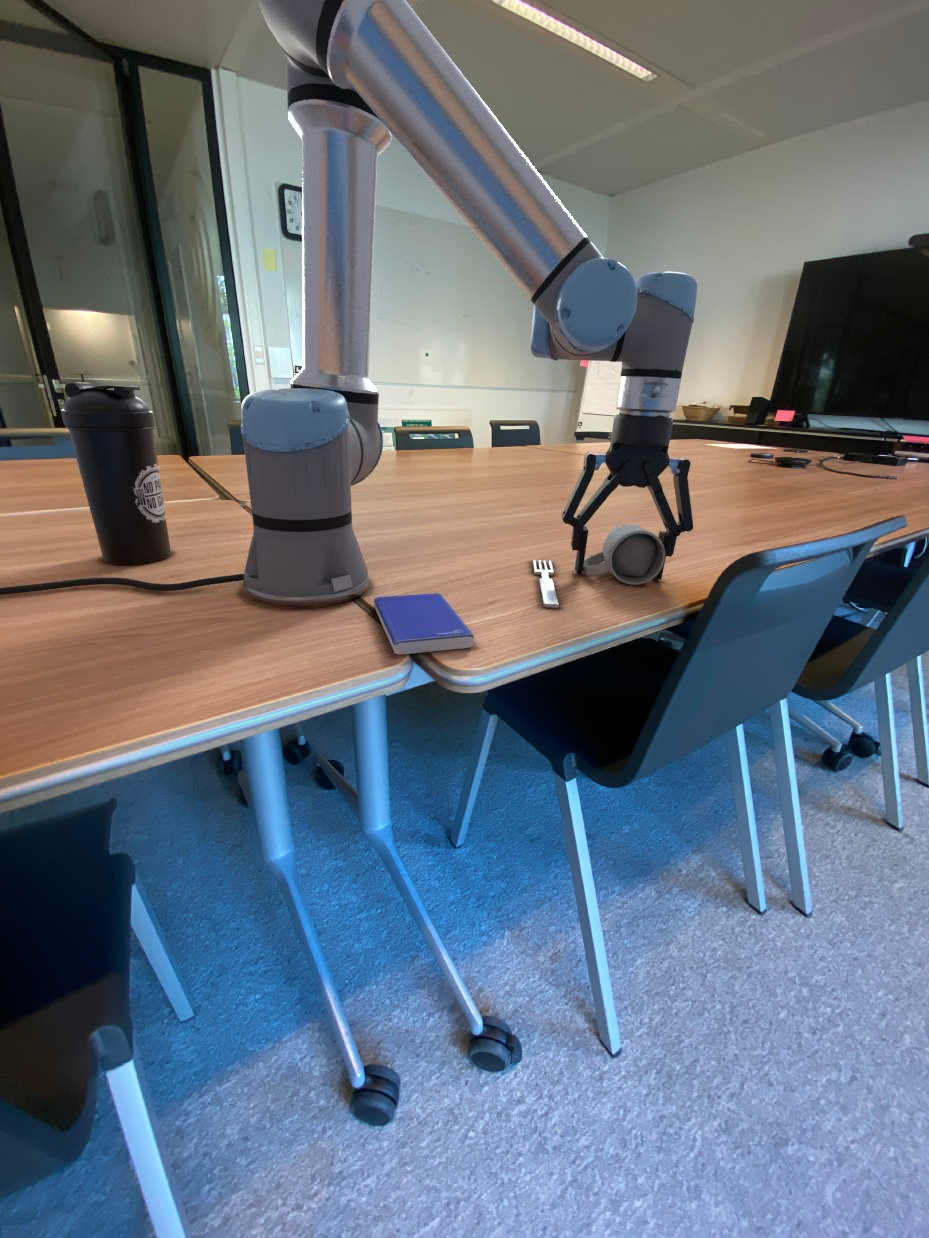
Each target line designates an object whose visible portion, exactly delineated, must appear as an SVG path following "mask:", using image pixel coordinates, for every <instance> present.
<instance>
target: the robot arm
mask: <svg viewBox="0 0 929 1238" xmlns="http://www.w3.org/2000/svg"><path fill="white" fill-rule="evenodd" d="M257 3H258V7H259V10H260V12H261V14H262V16H263V19H264V21H265V23H266V25H267V27H268V29H269V30H270V32H271V33H272V35H273V37H274V39H275V40H276V42H277V43H278V45H279V46H280V48H281V49H282V51H283V53H284V54H285V56H286V81H287V83H286V85H287V86H286V87H287V90H286V91H287V97H286V98H287V118H288V121H289V123H290V124H291V125H292V127H293V128H294V130H295V131H296V133H297V134H298V135H299V137H300V139H301V227H302V228H301V238H302V239H301V240H302V241H301V244H302V245H301V246H302V247H301V248H302V250H301V251H302V253H301V255H302V256H301V257H302V261H301V265H302V266H301V267H302V268H301V269H302V273H301V275H302V277H301V281H302V283H301V284H302V286H301V287H302V289H301V290H302V293H301V294H302V299H301V300H302V304H301V305H302V368H301V370H300V371H299V372H298V373H297V374H296V375H295V376H294V377H293V378H292V379H291V380H290V387H289V388H288V387H287V388H279V389H272V388H271V389H263V390H258V391H255V392H252V393H250V394H248V395H246V396H245V397H244V399H242V402H241V405H240V411H241V412H240V413H241V414H240V415H241V424H240V434H241V437H242V441H243V442H242V443H243V451H244V459H245V466H246V475H247V483H248V491H249V492H248V493H249V500H250V508H251V516H252V524H253V526H252V527H253V531H252V537H251V541H250V545H249V550H248V554H247V558H246V562H245V567H244V570H243V573H237V574H229V575H221V576H213V577H206V578H201V579H195V580H190V581H184V582H177V583H156V582H155V583H154V582H149V581H148V582H147V581H142V580H138V579H132V578H126V577H115V576H114V577H113V576H112V577H109V576H108V577H86V578H73V579H65V580H57V581H50V582H41V583H31V584H21V585H13V586H3V587H0V596H4V595H5V596H7V595H15V594H22V593H23V594H24V593H32V592H33V593H34V592H42V591H51V590H58V589H67V588H76V587H84V586H96V585H97V586H98V585H99V586H100V585H116V586H117V585H118V586H126V587H133V588H138V589H143V590H147V591H148V590H149V591H154V592H155V591H158V592H175V591H176V592H177V591H184V590H190V589H195V588H200V587H207V586H212V585H213V586H214V585H220V584H227V583H235V582H243V586H244V587H243V588H244V593H245V595H246V597H248V598H249V599H251V600H252V601H254V602H257V603H259V604H263V605H267V606H271V607H278V608H286V609H287V608H290V609H307V608H309V609H310V608H320V607H321V608H322V607H326V606H327V607H328V606H334V605H338V604H342V603H345V602H348V601H352V600H353V599H356V598H358V597H360V596H361V595H363V594H365V592H366V591H367V590H368V589H369V572H368V567H367V564H366V562H365V561H366V560H365V558H364V556H363V553H362V549H361V547H360V545H359V542H358V539H357V537H356V534H355V532H354V529H353V513H352V512H353V511H352V487H353V486H355V485H357V484H359V483H361V482H363V481H364V480H366V478H368V477H369V476H370V475H371V474H373V472H374V470H375V469H376V467H377V466H378V464H379V462H380V460H381V458H382V455H383V449H384V435H383V430H382V426H381V424H380V422H379V401H380V400H379V397H380V392H379V390H378V387H376V385H375V384H374V383H373V382H372V381H371V379H370V375H369V374H370V373H369V371H370V350H371V347H370V345H371V327H372V326H371V324H372V323H371V322H372V304H373V303H372V300H373V299H372V298H373V275H374V253H375V251H374V250H375V231H376V230H375V229H376V228H375V227H376V207H377V205H376V202H377V182H378V181H377V180H378V159H379V156H380V155H382V154H383V152H384V151H385V150H387V148H388V147H389V146H390V145H391V143H392V139H393V137H394V138H395V139H396V141H397V142H398V143H399V144H400V145H401V147H402V148H403V149H404V150H405V152H406V153H407V154H408V155H409V157H411V159H412V160H413V162H415V164H416V165H417V166H418V167H419V168H420V170H421V171H422V172H423V173H424V174H425V175H426V177H427V178H428V179H429V180H430V181H431V183H432V184H433V185H434V186H435V188H437V190H438V191H439V192H440V194H441V195H442V196H443V197H444V198H445V199H446V200H447V202H448V203H449V204H450V205H451V206H452V207H453V209H454V210H455V211H456V212H457V214H458V215H459V216H460V217H461V219H462V220H463V221H464V223H466V224H467V226H468V227H469V228H470V229H471V230H472V232H473V233H474V234H475V235H476V236H477V238H478V239H479V240H480V241H481V243H482V244H483V245H484V246H485V247H486V248H487V250H488V251H489V252H490V253H491V255H492V256H493V257H494V258H495V259H496V260H497V262H498V263H499V264H500V265H501V266H502V268H503V269H504V270H505V271H506V273H508V275H509V276H510V277H511V278H512V279H513V281H514V282H515V284H517V285H518V287H519V288H520V289H521V291H522V292H523V293H524V294H525V295H526V296H527V298H528V299H529V300H530V301H531V303H532V304H533V309H532V318H531V319H532V320H531V329H530V331H531V332H530V345H529V346H530V347H529V348H530V353H531V355H532V356H533V357H535V358H537V359H539V358H540V359H550V360H553V361H559V360H564V361H565V360H566V361H587V362H589V361H591V362H610V363H617V362H618V363H621V369H620V370H621V371H620V378H619V383H618V391H617V395H616V396H617V397H616V403H615V409H616V410H618V411H619V412H618V414H616V415H615V416H614V417H613V424H612V429H611V430H612V431H611V437H610V443H609V448H608V449H607V451H606V452H605V453H592V451H591V452H590V451H589V452H588V451H587V452H586V453H585V454H584V457H583V466H582V467H583V468H582V470H581V473H580V475H579V477H578V479H577V482H576V483H575V485H574V488H573V490H572V492H571V494H570V496H569V498H568V500H567V502H566V505H565V507H564V509H563V511H562V513H561V520H562V522H563V523H564V524H566V525H569V526H571V527H572V532H571V541H570V546H571V549H572V551H576V556H575V565H574V570H575V573H576V575H580V576H581V575H583V574H584V573H583V566H584V560H585V558H586V550H587V545H588V537H589V529H588V528H587V526H586V525H587V524H588V522H589V521H590V520H591V518H592V517H593V516H594V515H595V513H596V512H597V511H598V510H599V508H600V507H601V506H602V505H603V504H604V502H606V500H607V499H608V498H609V496H610V495H611V494H612V493H613V492H614V491H615V490H617V488H618V487H619V486H621V487H622V488H623V487H625V488H629V487H633V486H634V487H637V488H641V489H642V488H643V489H645V488H647V490H648V491H649V493H650V496H651V499H652V501H653V503H654V505H655V507H656V510H657V512H658V514H659V517H660V519H661V521H662V524H663V525H664V528H665V531H664V530H659V532H658V536H657V537H658V538H659V539H660V540H661V541H662V543H663V545H664V549H665V561H664V564H663V567H662V569H661V570H660V572H659V573H658V574H657V576H656V577H654V578H653V579H654V580H656V581H662V578H663V573H664V568H665V563H666V558H667V557H672V556H673V555H674V552H675V548H676V547H675V546H676V542H677V539H678V537H679V536H681V534H682V533H685V532H691V531H693V530H694V519H693V511H692V504H691V503H692V502H691V496H690V488H689V487H690V486H689V477H688V476H689V472H690V468H691V466H692V465H691V461H690V460H689V459H687V458H686V457H685V458H684V457H678V458H674V457H673V458H672V457H670V456H669V446H670V442H671V436H672V432H673V427H674V426H673V425H674V420H673V417H670V414H671V413H675V412H676V410H677V404H678V398H679V393H680V387H681V381H682V376H683V369H684V366H685V360H686V356H687V351H688V347H689V341H690V336H691V332H692V328H693V324H694V322H695V311H696V310H695V309H696V304H697V295H698V293H697V292H698V284H697V281H696V279H695V277H693V276H692V275H690V274H687V273H683V272H677V271H663V272H650V273H645V274H641V275H640V276H638V277H637V278H636V279H635V278H634V277H633V275H632V273H631V271H630V270H629V269H628V268H627V267H626V266H625V265H623V264H622V263H621V262H619V261H617V260H615V259H611V258H607V257H605V256H604V255H603V254H602V253H601V251H600V250H599V249H598V247H596V245H595V244H594V243H593V242H592V241H591V239H590V238H589V237H588V235H587V234H586V233H585V231H584V230H583V229H582V227H581V226H580V225H579V224H578V222H577V221H576V220H575V218H574V217H573V216H572V214H571V213H570V212H569V210H568V209H567V208H566V206H565V205H564V204H563V202H562V201H561V200H560V199H559V198H558V196H557V195H556V194H555V193H554V191H553V190H552V189H551V187H550V186H549V184H548V183H547V182H546V181H545V179H544V178H543V176H542V175H541V174H540V173H539V172H538V170H537V169H536V168H535V166H534V165H533V164H532V163H531V161H530V160H529V158H528V157H527V156H526V155H525V153H524V151H522V150H521V148H520V146H519V145H518V144H517V143H516V141H515V140H514V139H513V138H512V137H511V135H510V133H508V131H507V130H506V129H505V127H504V126H503V125H502V123H501V122H500V121H499V120H498V118H497V117H496V116H495V114H494V113H493V111H492V110H491V109H490V108H489V107H488V105H487V104H486V103H485V102H484V100H483V99H482V97H481V96H480V95H479V94H478V92H477V91H476V90H475V88H474V87H473V86H472V84H471V83H470V82H469V81H468V80H467V78H466V77H465V75H464V74H463V72H462V71H461V70H460V69H459V68H458V66H457V64H455V62H454V61H453V60H452V59H451V57H450V56H449V55H448V54H447V52H446V51H445V49H444V48H443V46H441V44H440V43H439V42H438V40H437V39H436V38H435V36H434V35H433V34H432V33H431V31H430V30H429V28H428V27H427V26H426V25H425V24H424V22H423V21H422V20H421V18H420V17H419V15H418V14H417V13H416V12H415V10H414V9H413V7H412V6H411V5H410V4H409V3H408V1H407V0H257ZM392 136H393V137H392ZM602 464H605V465H606V467H607V469H608V471H609V473H608V475H607V476H606V477H605V479H604V480H603V481H602V484H601V485H600V486H599V487H598V489H597V490H596V491H595V492H594V494H593V495H592V496H591V497H590V499H588V501H587V502H586V503H585V504H584V506H583V508H582V509H580V511H579V512H578V513H577V511H578V508H579V506H580V504H581V502H582V500H583V498H584V496H585V493H586V492H587V490H588V488H589V485H590V483H591V481H592V479H593V478H594V474H595V471H598V470H599V469H600V468H601V465H602ZM667 468H669V473H670V474H672V476H673V479H672V481H673V487H674V494H675V503H676V511H677V519H678V521H676V519H675V516H674V514H673V512H672V509H671V506H670V504H669V502H668V499H667V497H666V495H665V491H664V490H663V486H662V483H661V481H660V479H659V476H660V475H661V474H662V473H663V472H664V471H665V470H666V469H667ZM576 513H577V515H576Z"/></svg>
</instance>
